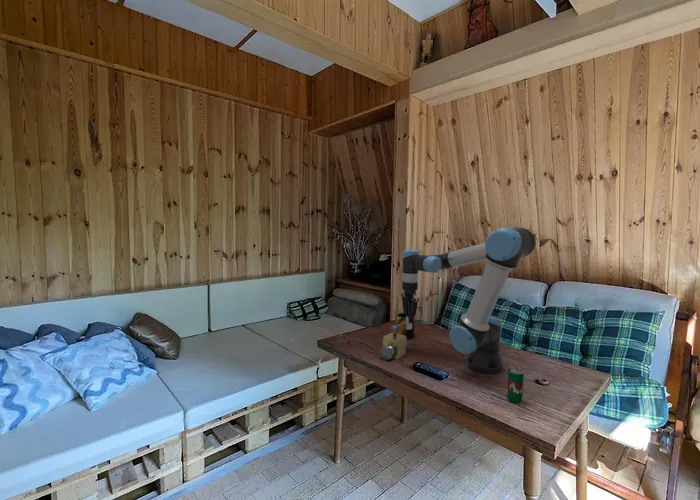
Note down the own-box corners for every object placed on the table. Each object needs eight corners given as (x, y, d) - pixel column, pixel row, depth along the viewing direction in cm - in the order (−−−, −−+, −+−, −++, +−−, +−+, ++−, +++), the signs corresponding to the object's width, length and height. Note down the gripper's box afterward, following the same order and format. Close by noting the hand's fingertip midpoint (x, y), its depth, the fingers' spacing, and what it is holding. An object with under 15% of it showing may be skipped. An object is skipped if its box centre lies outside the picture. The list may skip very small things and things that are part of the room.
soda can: (517, 396, 126) (519, 365, 125) (525, 404, 121) (527, 371, 120) (504, 396, 126) (505, 365, 125) (511, 404, 121) (512, 371, 120)
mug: (400, 330, 200) (401, 310, 199) (417, 337, 189) (418, 316, 187) (388, 333, 194) (388, 313, 193) (405, 340, 183) (405, 319, 182)
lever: (395, 337, 161) (395, 327, 161) (389, 335, 164) (389, 326, 163) (412, 330, 171) (412, 321, 170) (406, 329, 173) (406, 320, 173)
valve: (396, 347, 174) (396, 330, 173) (410, 351, 169) (410, 333, 168) (377, 357, 160) (378, 339, 159) (392, 362, 155) (392, 343, 154)
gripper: (396, 279, 170) (395, 326, 172) (410, 284, 158) (409, 333, 160) (409, 279, 173) (408, 324, 175) (424, 283, 161) (422, 332, 163)
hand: (409, 328), depth 168 cm, fingers closed
